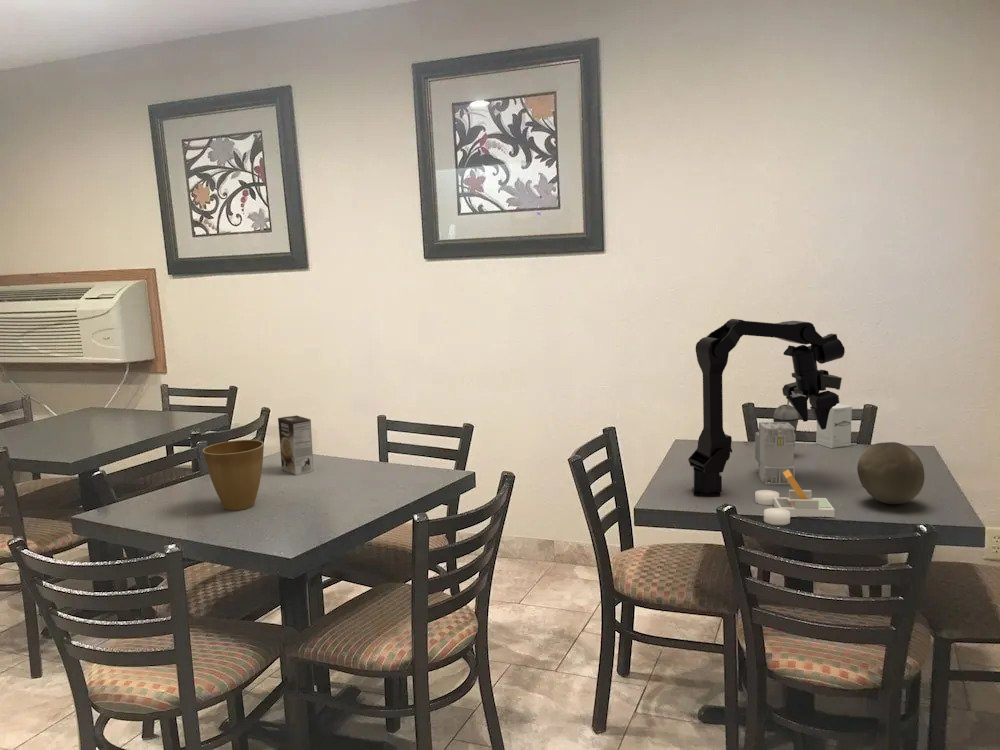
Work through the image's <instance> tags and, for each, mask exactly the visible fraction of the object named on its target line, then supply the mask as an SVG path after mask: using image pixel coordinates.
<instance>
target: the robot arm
mask: <svg viewBox="0 0 1000 750" xmlns="http://www.w3.org/2000/svg"><path fill="white" fill-rule="evenodd" d="M743 336H749V337H751V336H752V337H765V338H775V339H779V340H782V341H785V342H788V343H793V344H799V345H798V346H795V345H789V344H788V346H787V348H786V349H785V350H784V351H783V356H789V357H791V361H792V365H793V372H792V373H791V377H792V378H793V379H795V381H794V382H790V383H787V384H783V387H782V389H781V390H782V395H783V396H785V399H786V400H787V401H789V404H790V406H792V407H794V409H795V410H796V411H797V413H798V417H800V419H801V420H802V421H803V423H806V422H808V421H809V419H808V417H809V414H808V413H809V411H808V402H809V405H810V406H809V409H810V410H811V412H812V414H813V417H814V418H815V420H816V423H817V422H818V424H819V426H820V428H821V429H822V430H823V429H826V426H827V421H828V416H829V412H830V409H831V408H832V407H833V406H836V404H840V397H839V395H838V394H837V393H835V392H834V391H831V390H827V389H835V390H836V391H837V390H839V391H840V390H841V385H842V380H843V378H842V377H840V376H837V375H834V374H830V373H829V371H828V370H826V369H818V363H819V364H820V365H821V364H826V363H829V362H832V361H836V360H839V359H842V358H843V357H844V356H845V353H846V352H845V346H844V345H843V343H842V341H841V340H840V339H839V338H838V334H837V333H829V334H826V335H825V336H822V335H821V334H820V333H819V332H818V331H817V329H816V327H815V325H814V324H813V323H812V322H809V321H801V320H788V321H781V322H773V323H772V322H763V321H752V320H744V319H739V318H731V319H729V320H727V321H726V322H725V323H723V325H721V326H719V327H718V328H717V329H714V330H713V331H711V332H710V333H709V334H707V335H706V336H705V337H702V338H700V339H699V341H698V342H696V344H695V356H696V361H697V364H698V366H699V368H700V370H701V372H702V409H703V410H702V411H703V412H702V415H703V417H702V418H703V421H702V422H703V428H702V431H701V432H700V435H699V437H698V440H697V447H696V449H695V451H694V452H693V453H692V454H691V455H690V456H689V457H688V458H687V459H688V463H689V466H690V467H692V469H693V473H692V474H693V475H692V476H693V477H692V478H693V479H692V480H693V482H692V484H693V486H692V488H691V489H692V493H693V496H695V497H698V496H699V497H700V496H701V497H704V496H705V497H721V493H722V488H723V485H722V484H723V482H722V481H723V477H722V474H721V473H723V472H724V469H725V467H726V463H727V462H728V461H729V460H730V458H731V453H733V449H732V441H733V440H732V436H731V435H728V434H726V433H725V431H724V417H723V416H724V415H723V414H724V413H723V412H724V410H723V409H724V408H723V407H724V405H723V404H724V403H723V402H724V401H723V400H724V399H723V396H724V395H723V374H724V371H725V369H726V367H727V365H728V361H729V354H730V352H731V351H733V349H735V347H736V346H737V345H738V342H739V341H740V339H741V338H742V337H743ZM807 345H808V346H807Z"/></svg>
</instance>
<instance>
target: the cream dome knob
mask: <svg viewBox="0 0 1000 750" xmlns="http://www.w3.org/2000/svg"><path fill="white" fill-rule="evenodd" d="M773 497H780V493H779V492H777V491H775V490H770V489H759V490H756V491H755V492H754V502H755V503H756V504H757V503H758V505H760V504H762V505H761V506H767V505H772V506H773Z"/></svg>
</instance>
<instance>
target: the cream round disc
mask: <svg viewBox="0 0 1000 750" xmlns="http://www.w3.org/2000/svg"><path fill="white" fill-rule="evenodd" d="M763 521H764V523H766V524H768V525H773V526H785V525H788V524H790V523H791V517H790V511H788V510H786V509H782V508H774V507H769V508H766V509H765V508H764V510H763Z"/></svg>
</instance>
